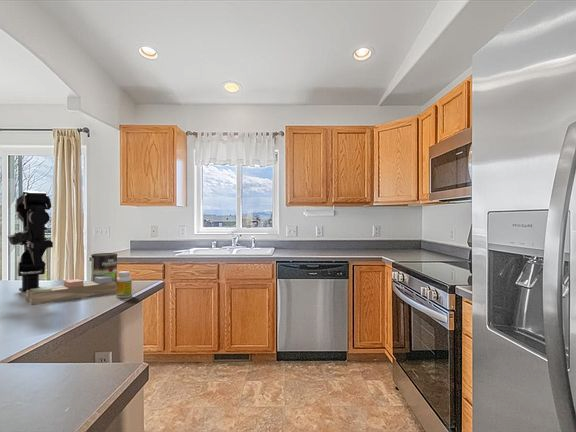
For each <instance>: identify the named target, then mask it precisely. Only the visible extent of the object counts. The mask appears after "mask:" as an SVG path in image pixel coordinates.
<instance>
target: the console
mask: <svg viewBox="0 0 576 432" xmlns="http://www.w3.org/2000/svg"><path fill="white" fill-rule="evenodd" d="M116 287H117V285H116V282H114V281H112V282H109V283H102V284H98V283H95V282H91V281H87V282H83V286H80V287H73V288H67V287H65V286H64V285H56V286H49V287H48V288H50V289H51V291H43V292H36V293H34V292H32V291H31V290H26V291H25V302H26V301H27V302H26V303H28V304H30V305H31V306H32V305H40V304H46V303H52V302H57V301H66V300H71V299H77V298H83V297H84V298H85V297H90V295H91V296H98V295H102V294H110V293H115V292H116ZM97 294H98V295H97Z"/></svg>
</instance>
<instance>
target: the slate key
mask: <svg viewBox="0 0 576 432" xmlns="http://www.w3.org/2000/svg"><path fill="white" fill-rule="evenodd" d="M94 282H95V283H98V284H102V283H109V282H112V277H110V276H99V277H94Z"/></svg>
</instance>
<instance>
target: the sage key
mask: <svg viewBox="0 0 576 432" xmlns="http://www.w3.org/2000/svg"><path fill="white" fill-rule="evenodd" d="M31 291H32V292H34V293H36V292H43V291H51V289H50V288H48V287H47V286H43V287H42V286H41V288H34V289H31Z"/></svg>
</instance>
